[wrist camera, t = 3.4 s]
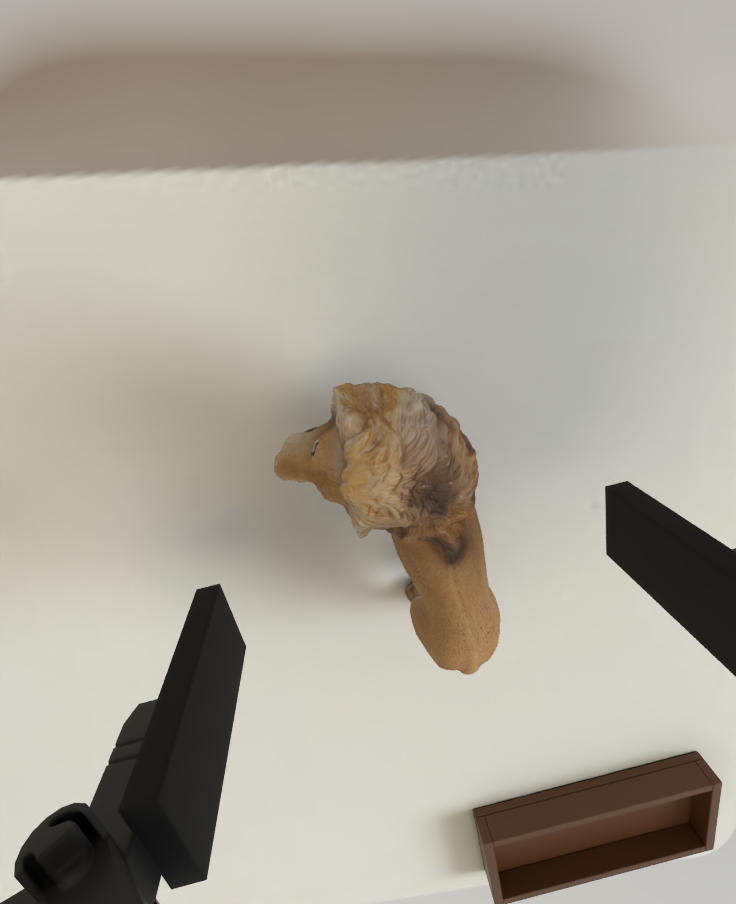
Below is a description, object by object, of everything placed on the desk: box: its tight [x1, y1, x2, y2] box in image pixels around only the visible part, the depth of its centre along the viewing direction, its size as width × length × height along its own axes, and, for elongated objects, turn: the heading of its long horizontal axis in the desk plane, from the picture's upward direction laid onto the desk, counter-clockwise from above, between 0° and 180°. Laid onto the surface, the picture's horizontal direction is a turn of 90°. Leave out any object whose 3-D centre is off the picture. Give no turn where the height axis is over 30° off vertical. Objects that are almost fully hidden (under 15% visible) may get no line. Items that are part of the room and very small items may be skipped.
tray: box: [473, 752, 722, 904], centre depth 30 cm, size 15×7×2 cm, turn 102°
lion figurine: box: [274, 382, 500, 674], centre depth 17 cm, size 15×5×9 cm, turn 27°
